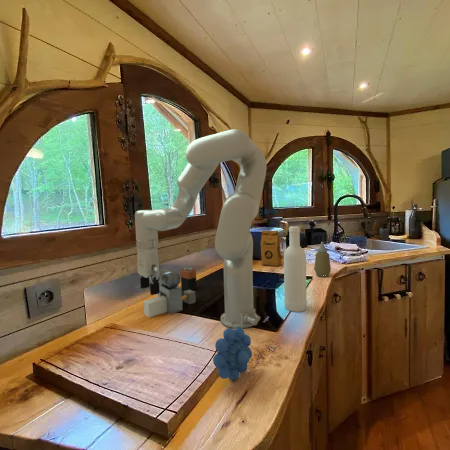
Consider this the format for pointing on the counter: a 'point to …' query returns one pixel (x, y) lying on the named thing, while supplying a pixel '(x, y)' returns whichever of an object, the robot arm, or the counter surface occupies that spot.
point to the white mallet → (165, 303)
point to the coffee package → (270, 248)
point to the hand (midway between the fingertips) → (149, 290)
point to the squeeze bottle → (322, 262)
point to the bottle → (295, 273)
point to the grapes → (232, 353)
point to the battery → (188, 279)
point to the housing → (171, 290)
